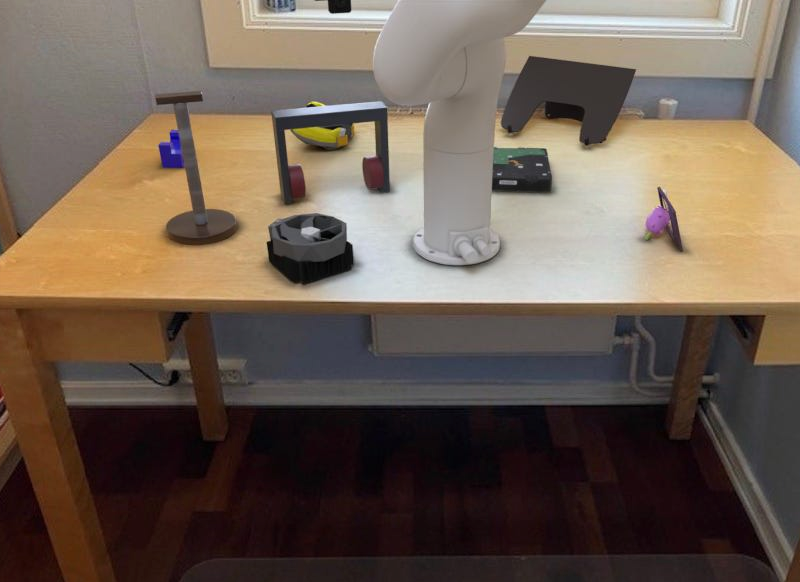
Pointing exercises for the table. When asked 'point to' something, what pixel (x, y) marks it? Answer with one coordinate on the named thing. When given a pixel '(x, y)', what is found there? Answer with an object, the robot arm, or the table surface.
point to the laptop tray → (569, 95)
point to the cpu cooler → (309, 247)
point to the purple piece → (663, 219)
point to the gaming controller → (325, 133)
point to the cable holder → (172, 151)
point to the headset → (327, 116)
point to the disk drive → (521, 170)
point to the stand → (194, 185)
